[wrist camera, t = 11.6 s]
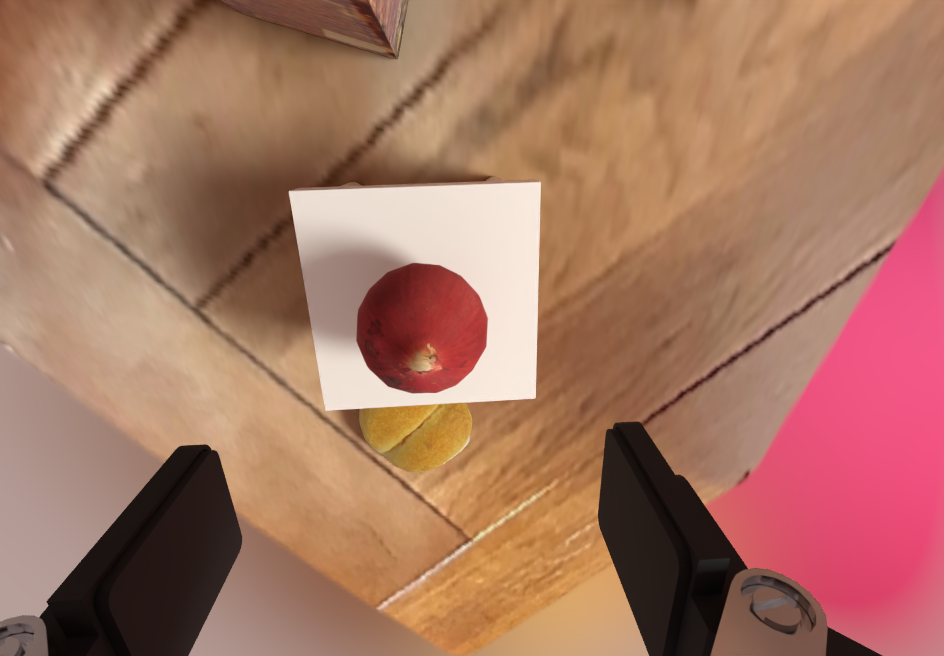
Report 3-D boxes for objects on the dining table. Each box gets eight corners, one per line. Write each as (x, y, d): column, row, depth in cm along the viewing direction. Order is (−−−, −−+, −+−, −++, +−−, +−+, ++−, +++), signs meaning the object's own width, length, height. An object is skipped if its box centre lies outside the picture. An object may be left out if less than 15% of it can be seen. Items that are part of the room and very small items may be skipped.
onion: (421, 374, 26) (416, 463, 19) (344, 301, 24) (304, 367, 17) (501, 306, 25) (530, 371, 18) (426, 224, 23) (423, 258, 16)
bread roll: (412, 343, 37) (409, 366, 33) (485, 416, 40) (490, 445, 36) (337, 406, 38) (326, 434, 34) (413, 471, 41) (410, 504, 37)
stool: (511, 170, 32) (540, 182, 23) (511, 332, 37) (535, 398, 27) (333, 176, 31) (288, 191, 22) (354, 340, 36) (325, 410, 27)
